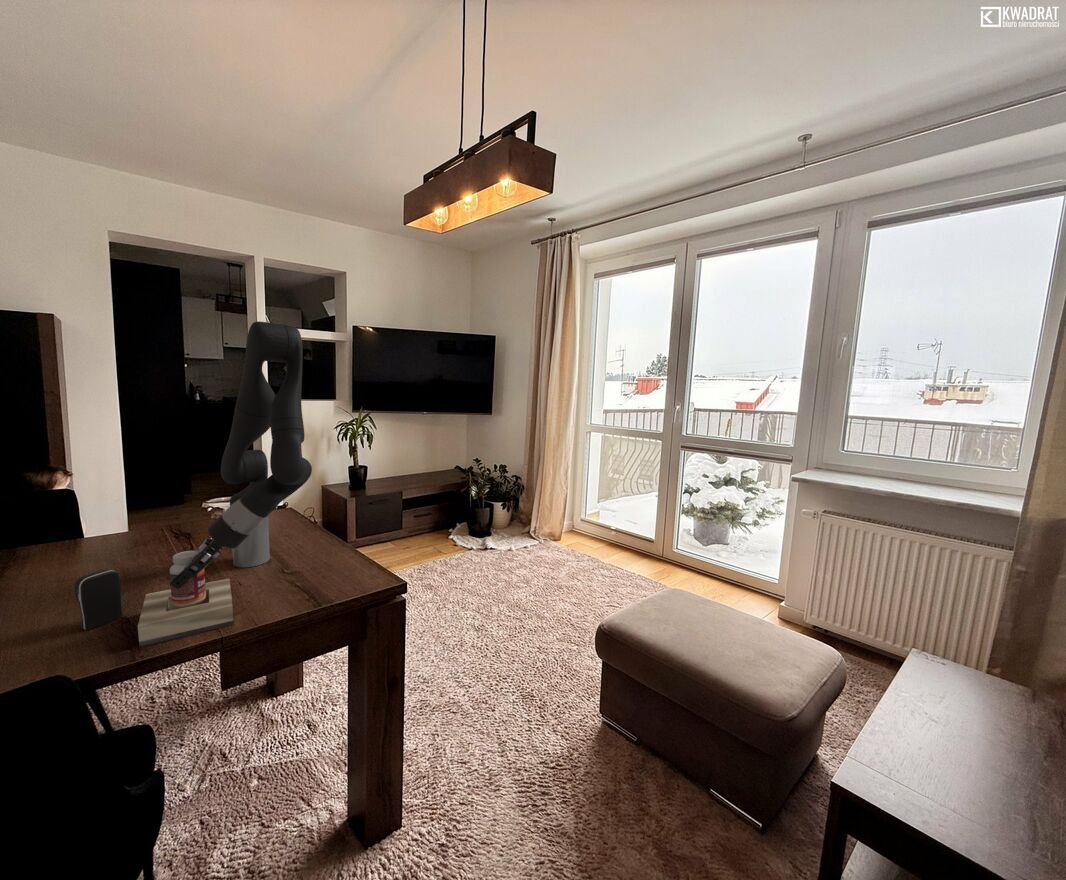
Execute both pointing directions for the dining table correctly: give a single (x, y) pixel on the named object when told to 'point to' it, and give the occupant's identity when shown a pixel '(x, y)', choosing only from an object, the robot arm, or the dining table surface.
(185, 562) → the pill bottle
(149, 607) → the socket block
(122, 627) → the dining table surface
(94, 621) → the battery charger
